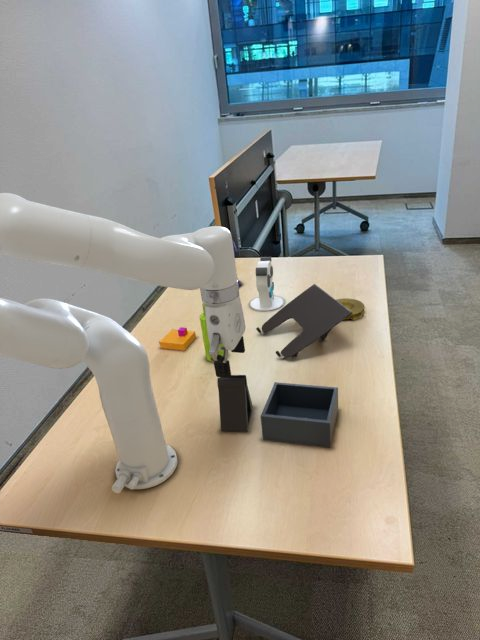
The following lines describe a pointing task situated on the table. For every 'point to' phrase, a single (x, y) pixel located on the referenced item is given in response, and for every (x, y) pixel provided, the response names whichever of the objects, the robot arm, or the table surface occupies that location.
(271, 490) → the table surface
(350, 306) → the compass
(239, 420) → the phone stand
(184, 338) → the orange tile with knob
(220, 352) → the soap dispenser
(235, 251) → the toy lamp
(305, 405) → the tote
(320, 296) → the laptop tray
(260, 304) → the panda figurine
